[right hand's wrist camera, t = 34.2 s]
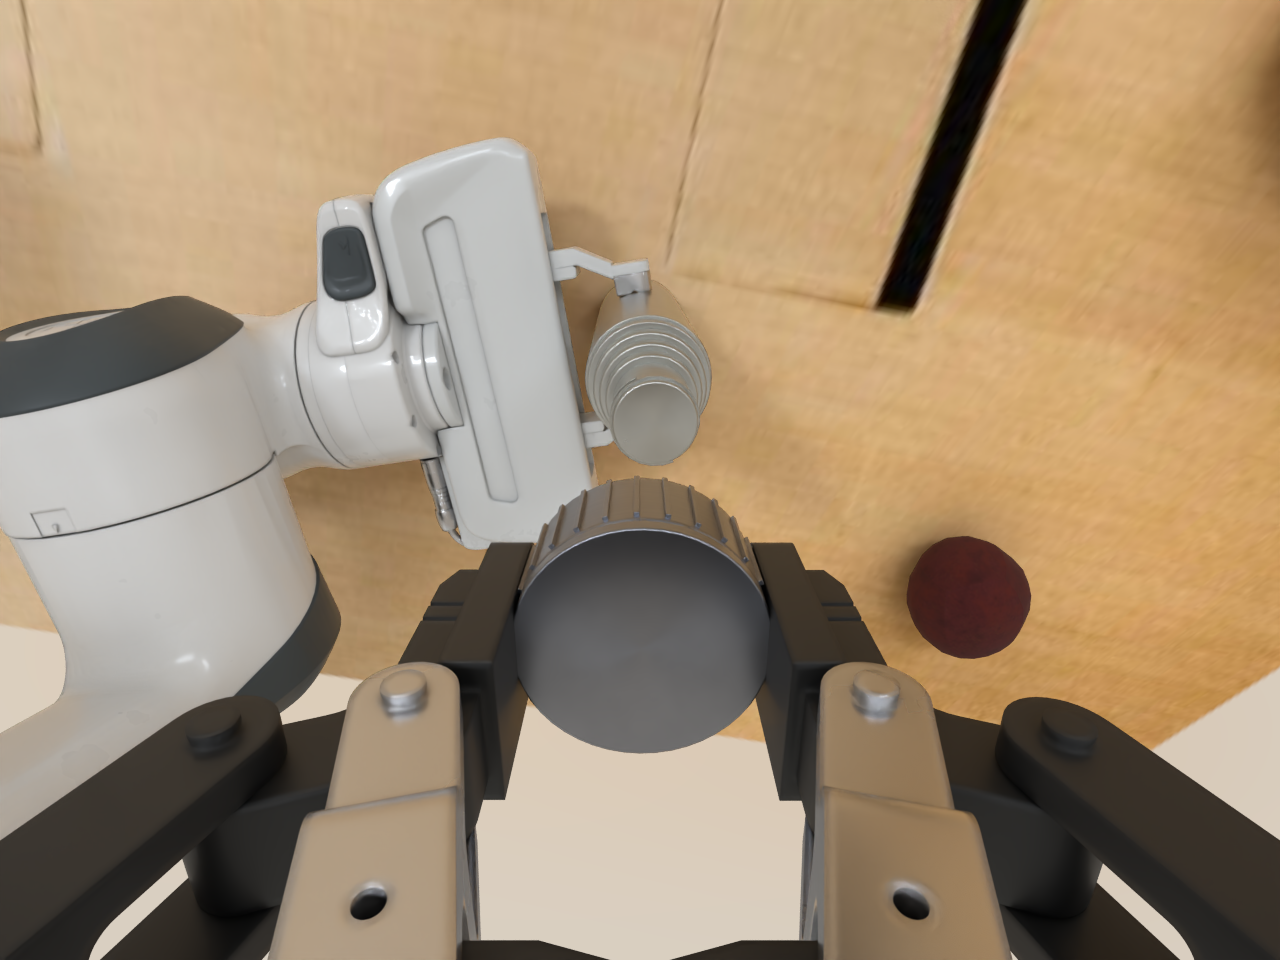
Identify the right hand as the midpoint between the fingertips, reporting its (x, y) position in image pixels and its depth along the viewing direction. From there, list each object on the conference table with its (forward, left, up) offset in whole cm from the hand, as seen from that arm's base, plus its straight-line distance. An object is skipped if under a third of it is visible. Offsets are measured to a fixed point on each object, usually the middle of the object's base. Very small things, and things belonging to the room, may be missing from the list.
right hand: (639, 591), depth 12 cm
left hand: (-1, 0, -25) cm, 25 cm away
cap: (0, 0, +2) cm, 2 cm away
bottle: (0, 0, -32) cm, 32 cm away
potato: (-18, +20, -32) cm, 42 cm away
